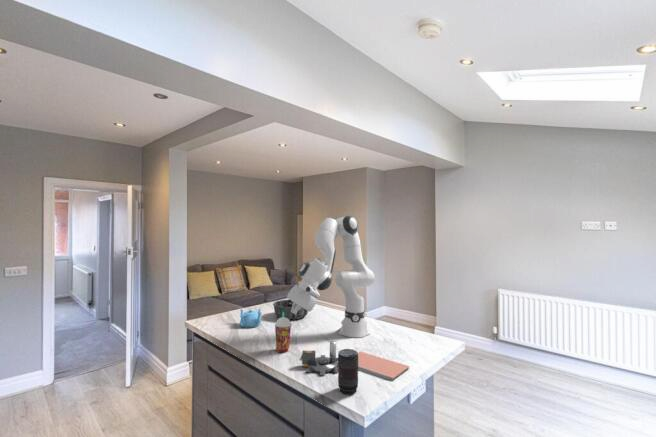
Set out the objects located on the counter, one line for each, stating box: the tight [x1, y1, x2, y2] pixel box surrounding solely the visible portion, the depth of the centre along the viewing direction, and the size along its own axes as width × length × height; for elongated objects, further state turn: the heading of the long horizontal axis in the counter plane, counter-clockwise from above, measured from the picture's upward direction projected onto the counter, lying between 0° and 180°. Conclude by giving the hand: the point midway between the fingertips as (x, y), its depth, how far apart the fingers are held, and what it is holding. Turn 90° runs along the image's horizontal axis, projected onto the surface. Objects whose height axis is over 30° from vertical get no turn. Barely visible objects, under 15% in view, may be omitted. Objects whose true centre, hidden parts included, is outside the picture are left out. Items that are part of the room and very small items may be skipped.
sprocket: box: [302, 340, 339, 376], centre depth 151 cm, size 18×18×10 cm
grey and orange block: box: [301, 350, 317, 365], centre depth 151 cm, size 3×6×5 cm, turn 91°
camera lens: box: [337, 348, 359, 396], centre depth 129 cm, size 8×8×15 cm
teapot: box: [239, 307, 263, 329], centre depth 212 cm, size 15×15×10 cm
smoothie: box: [274, 312, 292, 354], centre depth 169 cm, size 8×8×20 cm
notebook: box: [357, 351, 410, 382], centre depth 151 cm, size 27×17×2 cm, turn 51°
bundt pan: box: [272, 299, 309, 321], centre depth 234 cm, size 26×26×10 cm
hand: (292, 313), depth 161 cm, fingers closed
